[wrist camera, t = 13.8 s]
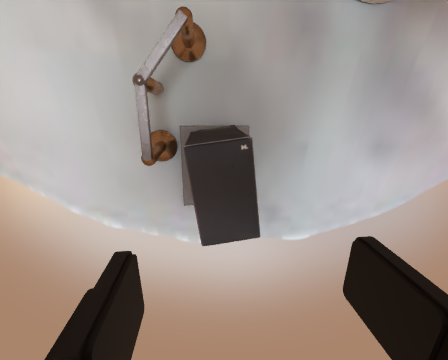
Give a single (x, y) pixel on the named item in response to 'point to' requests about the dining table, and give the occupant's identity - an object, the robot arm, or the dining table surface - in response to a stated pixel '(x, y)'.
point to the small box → (223, 184)
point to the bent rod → (184, 49)
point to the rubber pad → (183, 138)
